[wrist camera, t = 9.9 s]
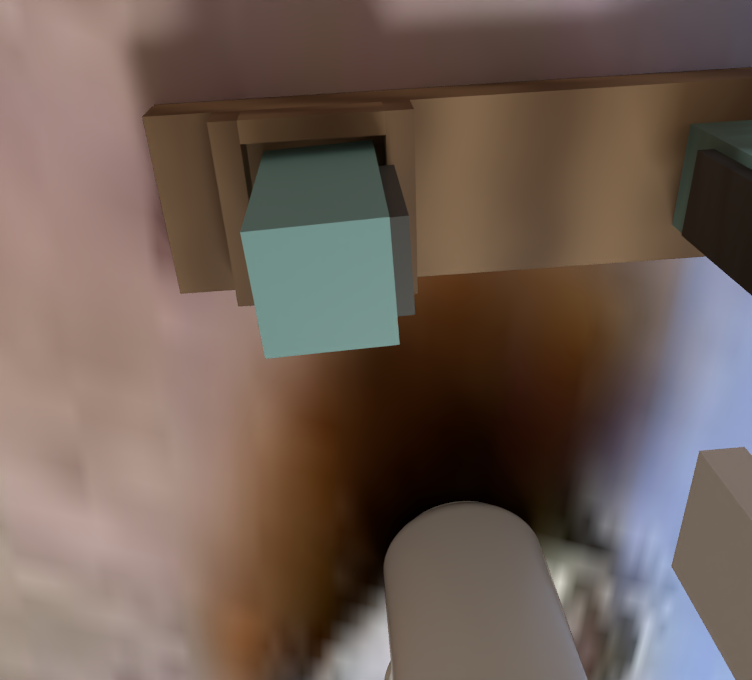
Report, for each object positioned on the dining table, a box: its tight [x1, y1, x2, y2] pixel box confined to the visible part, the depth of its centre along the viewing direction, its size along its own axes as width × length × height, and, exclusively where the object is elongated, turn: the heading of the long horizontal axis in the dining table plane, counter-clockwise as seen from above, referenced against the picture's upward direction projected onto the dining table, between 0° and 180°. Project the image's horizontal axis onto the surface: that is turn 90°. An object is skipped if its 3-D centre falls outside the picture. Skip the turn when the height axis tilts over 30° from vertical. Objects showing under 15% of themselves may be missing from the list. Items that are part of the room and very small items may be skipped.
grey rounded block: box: [383, 501, 588, 680], centre depth 35 cm, size 12×9×11 cm
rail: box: [142, 67, 752, 306], centre depth 24 cm, size 28×7×10 cm, turn 93°
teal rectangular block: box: [240, 140, 415, 359], centre depth 23 cm, size 5×4×8 cm
